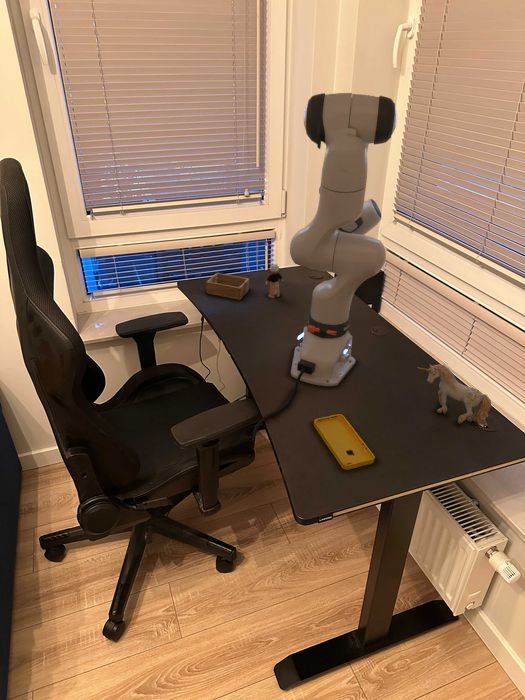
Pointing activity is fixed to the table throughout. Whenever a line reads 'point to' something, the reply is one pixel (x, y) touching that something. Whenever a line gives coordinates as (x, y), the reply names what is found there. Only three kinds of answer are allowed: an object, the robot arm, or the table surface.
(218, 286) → the holder
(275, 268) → the grandmother figurine
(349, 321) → the robot arm
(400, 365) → the table surface
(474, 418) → the unicorn figurine
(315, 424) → the phone case
